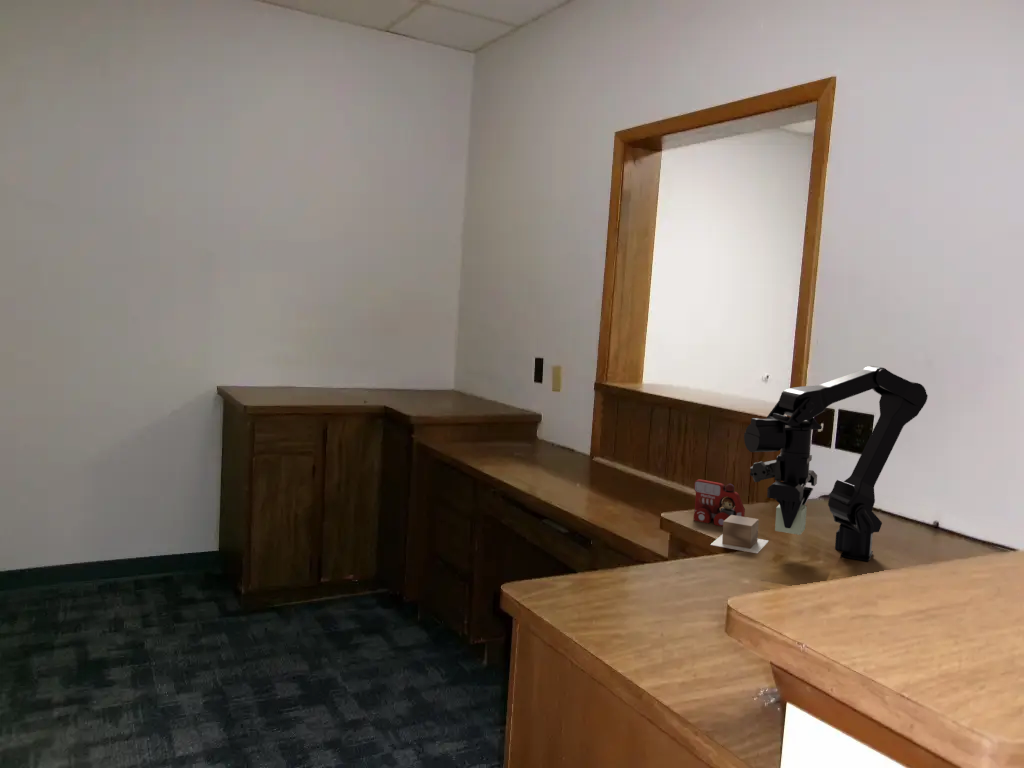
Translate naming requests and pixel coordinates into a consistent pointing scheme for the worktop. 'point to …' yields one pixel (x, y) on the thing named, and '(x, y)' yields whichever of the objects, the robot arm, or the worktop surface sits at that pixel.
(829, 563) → the worktop surface
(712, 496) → the toy fire truck
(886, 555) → the worktop surface
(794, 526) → the sage cube
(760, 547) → the build pad
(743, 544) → the walnut block
